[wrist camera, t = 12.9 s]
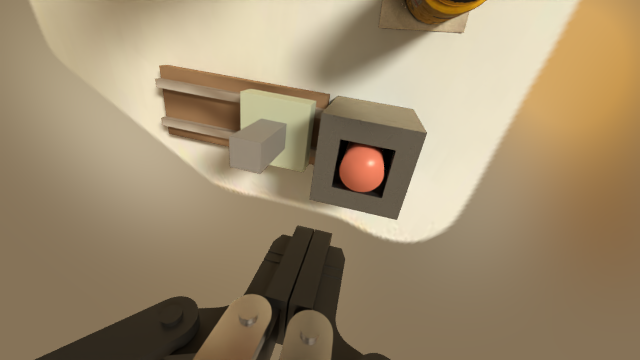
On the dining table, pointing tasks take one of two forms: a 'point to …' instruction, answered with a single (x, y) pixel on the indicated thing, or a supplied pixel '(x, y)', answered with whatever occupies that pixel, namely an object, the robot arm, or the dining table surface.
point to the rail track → (219, 104)
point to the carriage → (272, 132)
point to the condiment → (427, 14)
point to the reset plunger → (362, 167)
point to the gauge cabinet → (372, 129)
